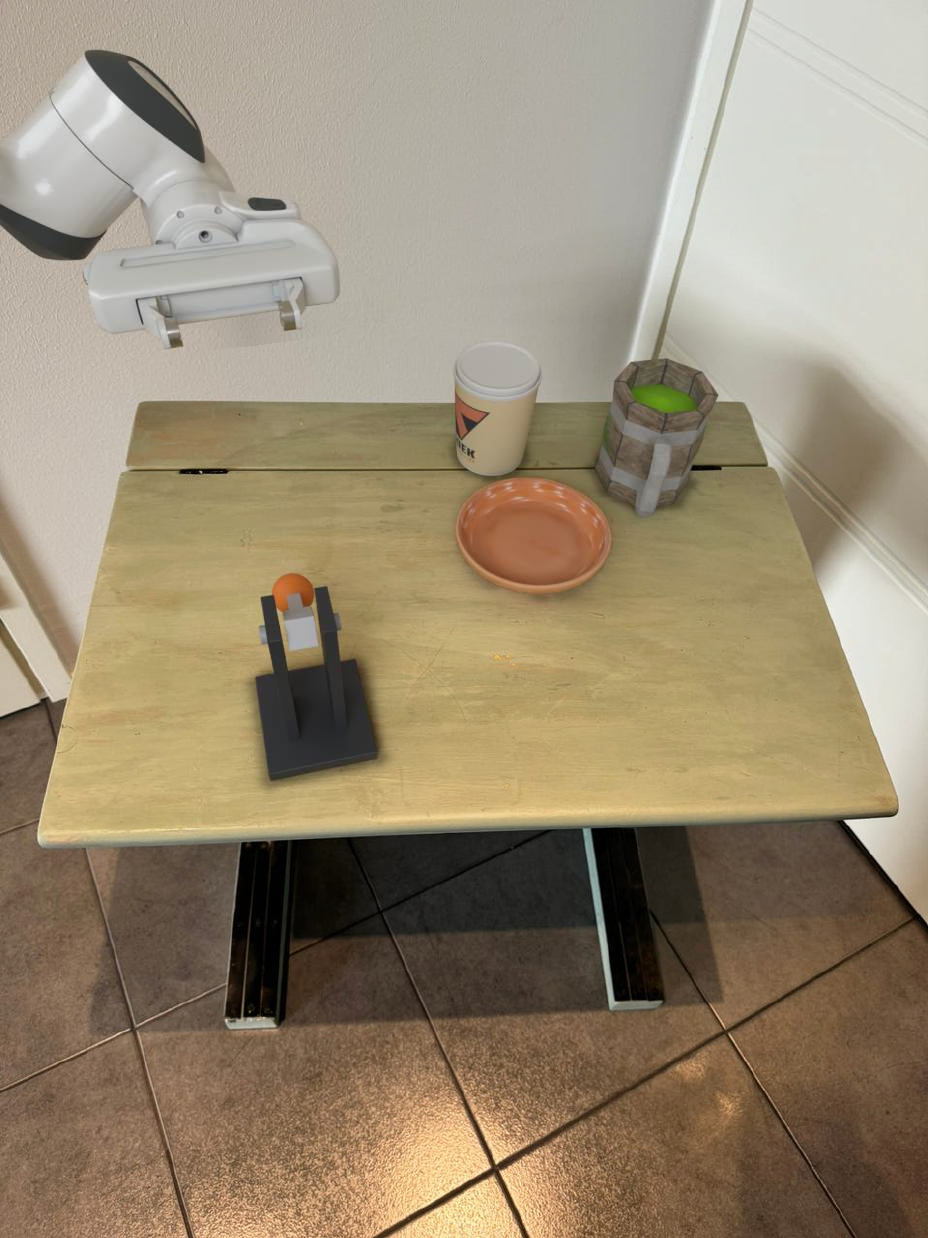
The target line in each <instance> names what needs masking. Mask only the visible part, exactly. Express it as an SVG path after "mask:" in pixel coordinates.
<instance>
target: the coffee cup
mask: <svg viewBox="0 0 928 1238" xmlns="http://www.w3.org/2000/svg"><path fill="white" fill-rule="evenodd" d="M452 370H453V378H454V414H455V415H454V416H455V419H454V420H455V446H456V447H455V449H456V456H457V459H458V461H459V463H460V464H461V465H462V466H463V467H464V468H465V469H466V470H468V471H470V472H472V473H475V474H476V475H479V476H480V475H481V476H485V477H500V476H503V475H504V476H505V475H508V474H510V473H512V472H513V471H515V470H516V469H517V468H518V467H519V466H520V465H521V463H522V461H523V459H524V455H525V451H526V445H527V442H528V438H529V433H530V429H531V425H532V420H533V416H534V412H535V407H536V402H537V396H538V392H539V387H540V385H541V383H542V380H543V379H542V378H543V371H542V367H541V365H540V362H539V361H538V359H537V357H536V356H535V355H534V354H533V353H532V352H531V351H529V350H528V349H526V348H524V347H522V346H520V345H518V344H515V343H511V342H507V341H498V340H491V341H483V342H478V343H474V344H472V345H470V346H468V347H466V348H464V350H462V351H461V352H460V353H459V354H458V357H457V358H456V360H455V361H454V364H453V369H452Z"/></svg>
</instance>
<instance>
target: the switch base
mask: <svg viewBox="0 0 928 1238" xmlns="http://www.w3.org/2000/svg"><path fill="white" fill-rule="evenodd" d="M313 589H314V599H315V607H316V615H317V620H318V628H319V634H320V635H319V636H320V642H321V652H322V659H323V664H318V665H317V664H316V665H313V666H307V667H301V668H296V669H290V670H289V667H288V661H287V656H286V652H285V645H284V640H283V635H282V629H281V624H280V619H279V615H278V608H277V607H276V603H275V598H274V595H272V594H269V595H263V596H260V605H261V610H262V616H263V623H264V624H263V625H259V626H258V633H259V639H260V643H261V645H267V647H268V652H269V657H270V660H271V665H272V670H273V673H269V674H264V675H257V676H255V677H254V680H255V687H256V694H257V702H258V709H259V717H260V724H261V731H262V739H263V745H264V753H265V760H266V766H267V767H266V768H267V774H268V777H269V781H270V782H272V781H273V782H274V781H278V780H282V779H289V778H292V777H296V776H302V775H307V774H311V773H316V772H321V771H325V770H331V769H335V768H341V767H344V766H349V765H350V766H351V765H354V764H359V763H365V762H368V761H374V760H377V759H378V750H377V745H376V742H375V737H374V733H373V729H372V724H371V719H370V715H369V711H368V707H367V702H366V699H365V694H364V689H363V686H362V682H361V677H360V672H359V668H358V664H357V660H356V658H351V659H345V660H341V654H340V645H339V635H338V632H342V630H343V628H342V620H341V615H340V612H334V609H333V606H332V601H331V596H330V592H329V587H328V585H323V586H318V587H313Z"/></svg>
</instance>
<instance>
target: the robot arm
mask: <svg viewBox="0 0 928 1238" xmlns="http://www.w3.org/2000/svg"><path fill="white" fill-rule="evenodd" d="M138 198H139V202H140V207H141V211H142V215H143V218H144V220H145V223H146V226H147V233H148V238H149V242H150V244H147V245H139V246H129V247H122V248H114V249H109V250H104V251H101V252H100V253H98V254H96V255H95V256H94V257H93V259H92V260H91V262H87V263H85V264H84V265H83V266H82V279H83V282H84V283H85V285H86V286H87V293H88V294H87V295H88V298H89V302H90V306H91V308H92V313H93V315H94V318H95V322H96V324H97V326H98V327H99V329H100V330H102V331H104V332H106V333H109V334H110V335H117V334H118V335H119V334H124V333H130V332H138V331H145V332H146V333H148V334H150V335H151V336H153V337H155V338H157V339H158V340H162V345H163V349H164V350H171V349H177V348H183V347H184V343H183V338H182V334H181V331H180V326H181V325H187V324H192V323H193V324H194V323H200V322H207V321H214V320H221V319H222V320H223V319H229V318H237V317H242V316H243V317H244V316H248V315H249V316H251V315H256V314H263V313H270V312H279V322H280V325H281V327H282V330H283V332H288V331H296V330H297V331H298V330H302V329H303V323H302V315H303V314H304V312H305V310H306V309H307V307H313V306H319V305H327V304H328V305H329V304H332V303H334V302H335V301H336V300H337V299H338V298H339V297H340V294H341V278H340V270H339V268H340V267H339V263H338V259H337V257H336V254H335V252H334V251H333V249H332V247H331V246H330V244H329V243H328V241H327V240H326V239H325V237H324V236H323V235H322V233H321V232H320V231H319V230H318V228H317V227H316V226H315V225H313V224H311V223H310V222H308V221H307V220H303V219H302V218H303V217H302V214H301V210H300V206H299V204H298V203H297V202H296V201H294V200H290V199H280V198H269V197H268V198H267V197H257V196H250V195H245V194H241V193H238V192H237V191H236V190H235V187H234V185H233V182H232V181H231V178H230V177H229V174H228V172H227V171H226V170H225V168H224V167H223V165H222V163H221V162H220V160H219V159H218V158H217V157H216V155H215V154H214V153H213V152H212V151H211V150H210V148H209V147H208V146H207V145H206V144H205V143H204V139H203V136H202V131H201V130H200V127H199V125H198V122H197V121H196V120H195V118H194V116H193V115H192V113H191V112H190V110H189V109H188V108H187V106H186V105H185V104H184V103H183V102H182V100H181V99H180V98H179V97H178V96H177V95H176V93H175V92H174V91H173V90H172V89H171V87H169V86H168V85H167V83H165V81H164V80H163V79H161V77H160V76H159V75H157V74H156V73H155V72H154V71H153V70H152V69H151V68H149V66H147V65H146V64H144V63H143V62H141V60H139V59H137V58H135V57H133V56H130V55H126V54H123V53H120V52H115V51H110V50H106V49H87V50H85V51H84V53H83V54H82V55H81V56H80V57H79V58H78V59H77V60H76V61H75V62H74V63H73V65H72V66H70V68H69V69H68V70H67V71H66V72H65V73H64V74H63V75H62V77H61V78H60V79H59V80H58V81H57V82H56V84H55V85H54V86H53V87H52V88H51V89H50V90H49V93H47V95H46V96H45V97H44V98H43V99H42V101H40V103H39V104H38V105H37V107H36V108H34V110H32V112H31V113H30V114H29V116H28V117H26V119H25V120H24V121H23V122H22V123H21V124H20V125H19V126H18V128H17V129H16V130H14V132H13V133H11V134H10V135H8V136H7V137H6V138H4V139H1V140H0V227H2V228H3V229H4V230H5V231H6V232H7V233H8V234H9V235H10V236H12V238H14V239H15V240H16V241H17V242H19V244H21V245H22V246H23V247H25V248H26V249H27V250H28V251H30V252H31V253H33V254H34V255H36V256H37V257H40V258H42V259H46V260H50V261H51V260H52V261H61V262H62V261H67V262H69V261H83V260H85V259H86V258H88V256H89V255H90V254H91V253H92V251H93V250H94V248H95V247H96V246H97V245H98V243H99V242H100V241H101V240H102V238H103V237H104V236H105V235H106V233H107V231H108V230H109V228H110V227H111V226H112V225H113V224H114V223H115V222H116V221H117V219H118V218H120V216H122V214H123V213H124V212H125V211H127V210H128V208H130V206H131V205H132V204H133V203H134V202H135V201H136V200H137V199H138Z"/></svg>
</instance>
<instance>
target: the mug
mask: <svg viewBox="0 0 928 1238" xmlns="http://www.w3.org/2000/svg"><path fill="white" fill-rule="evenodd" d="M612 390H613V391H612V399H611V403H610V406H609V407H610V408H609V411H608V415H607V418H606V419H605V422H604V426H603V431H602V441H601V447H600V450H599V454H598V458H597V461H596V462H595V466H594V468H593V470H594V472H595V474H596V476H597V478H598V480H599V482H600V484H601V486H602V488H603V490H604V492H605V494H606V495H609V496H611V497H613V498H615V499H618V500H620V501H622V502H624V503H627V504H629V505H631V506H634V507H635V512H636V514H637V516H639V517H642V518H650V517H651V516H652V515H653V514H654V512H655V510H656V508H657V507H659V506H667V505H673V504H675V503H676V502H677V500H678V499H679V498H680V496H681V494H682V493H683V491H684V490H685V488H686V487H687V486H688V484H689V481H690V475H691V470H692V467H693V464H694V461H695V458H696V456H697V454H698V452H699V449H700V447H701V445H702V444H703V440H704V436H705V432H706V428H707V424H708V421H709V418H710V415H711V412H712V409H713V407H714V406H715V404H716V402H717V401H718V398H719V393H718V392H717V390H716V389H715V388H714V386H713V385H712V383H711V381H710V380H709V379H708V377H707V376H706V374H705V373H704V372H703V371H702V370H699V369H696V368H693V367H692V366H688V365H686V364H682V363H681V362H678V361H676V360H672V359H670V358H667V357H666V358H656V359H644V360H636V361H635V360H634V361H630V362H629V363H628V364H627V365H626V366H625V367H624V369H623V370H622V371H621V372H620V374H618V375H617V376H616V378H615V379H614V380H613V389H612Z"/></svg>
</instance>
